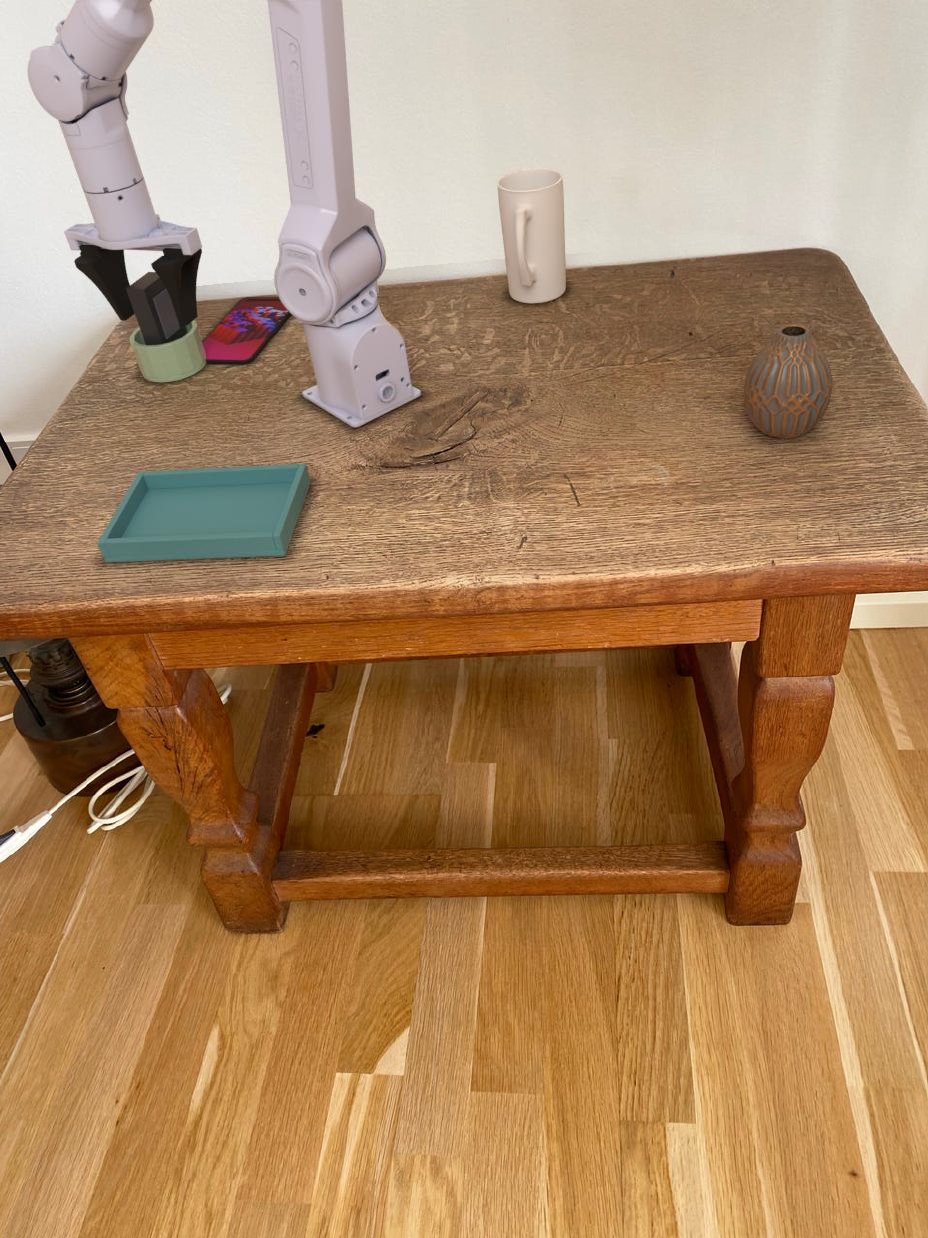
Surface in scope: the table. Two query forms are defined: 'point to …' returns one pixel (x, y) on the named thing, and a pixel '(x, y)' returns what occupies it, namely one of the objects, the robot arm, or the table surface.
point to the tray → (207, 513)
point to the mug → (533, 233)
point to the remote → (154, 310)
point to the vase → (788, 384)
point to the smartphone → (245, 331)
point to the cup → (170, 356)
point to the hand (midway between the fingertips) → (158, 318)
